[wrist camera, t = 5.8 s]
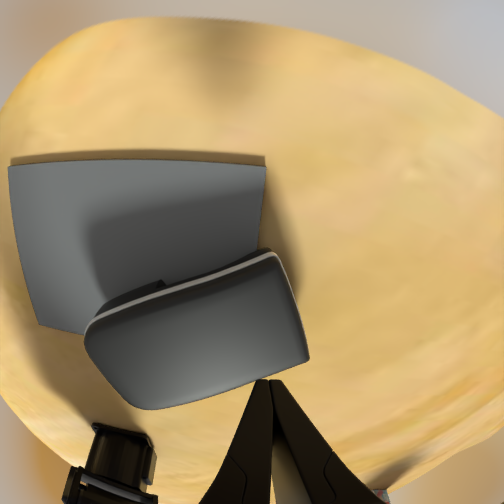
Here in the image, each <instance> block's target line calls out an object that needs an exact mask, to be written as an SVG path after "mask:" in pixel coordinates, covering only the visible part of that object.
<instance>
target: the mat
mask: <svg viewBox="0 0 504 504" xmlns="http://www.w3.org/2000/svg"><path fill="white" fill-rule="evenodd" d="M265 176H266V166H257V165H246V164H235V163H222V162H207V161H189V160H161V159H101V160H74V161H57V162H44V163H32V164H22V165H13V166H9V167H8V180H9V192H10V202H11V210H12V217H13V224H14V230H15V236H16V241H17V247H18V252H19V256H20V261H21V265H22V269H23V273H24V277H25V281H26V285H27V288H28V292H29V295H30V299H31V302H32V305H33V308H34V311H35V314H36V317H37V320H38V323H39V325H43V326H46V327H50V328H54V329H59V330H63V331H67V332H71V333H76V334H80V335H85V330H86V328H87V326H88V324H89V322H90V321H91V320H92V319H93V318H94V316H95V315H96V313H97V312H98V310H99V309H100V308H101V307H102V305H103V304H105V303H106V302H108V301H109V300H111V299H113V298H115V297H118V296H120V295H122V294H124V293H127V292H129V291H131V290H134V289H136V288H139V287H141V286H144V285H146V284H149V283H152V282H155V281H157V280H163V281H164V283H165V284H166V285H169V284H172V283H175V282H178V281H181V280H184V279H187V278H191V277H194V276H197V275H200V274H204V273H207V272H210V271H212V270H215V269H218V268H220V267H223V266H225V265H227V264H230V263H232V262H234V261H236V260H238V259H240V258H242V257H244V256H246V255H248V254H249V253H252V252H255V251H257V243H258V235H259V227H260V218H261V210H262V201H263V193H264V184H265Z"/></svg>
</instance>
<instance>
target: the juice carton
mask: <svg viewBox="0 0 504 504" xmlns="http://www.w3.org/2000/svg"><path fill="white" fill-rule="evenodd" d="M371 491H372V492H373V493H374V494H376V495H377V496H378V497H379V498H380V499H381V500H383V501H384V502H386V503H387V504H390V501H389V497H388V493H387V490H371Z"/></svg>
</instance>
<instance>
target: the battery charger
mask: <svg viewBox="0 0 504 504" xmlns="http://www.w3.org/2000/svg"><path fill="white" fill-rule="evenodd" d="M84 336H85V338H84V345H85V349H86V351H87V353H88V355H89V357H90V358H91V360H92V361H93V362H94V364H95V365H96V367H97V368H98V369H99V371H100V372H101V373H102V374H103V376H104V377H105V378H106V380H107V381H108V382H109V383H110V384H111V385H112V387H113V388H114V389H115V390H116V391H117V392H118V393H119V394H120V395H121V396H122V398H123V399H124V400H126V401H127V402H128V403H129V404H131V405H132V406H134V407H136V408H140V409H143V410H159V409H165V408H170V407H174V406H179V405H183V404H187V403H191V402H195V401H198V400H202V399H205V398H209V397H212V396H215V395H218V394H221V393H224V392H227V391H230V390H233V389H235V388H238V387H241V386H244V385H246V384H249V383H251V382H254V381H256V380H257V379H262V378H265V377H267V376H270V375H273V374H276V373H279V372H281V371H284V370H286V369H289V368H292V367H295V366H297V365H300V364H303V363H306V362H307V361H309V359H310V356H309V350H308V344H307V339H306V334H305V331H304V327H303V323H302V320H301V316H300V313H299V309H298V306H297V303H296V300H295V297H294V294H293V291H292V288H291V285H290V282H289V280H288V277H287V275H286V272H285V270H284V267H283V265H282V263H281V260H280V259H279V257H278V256H277V254H276V253H274V252H272V250H271V249H270V248H263V249H260V250H257V251H255V252H252V253H249V254H248V255H246V256H244V257H242V258H240V259H238V260H236V261H234V262H232V263H230V264H227V265H225V266H223V267H220V268H218V269H215V270H212V271H210V272H207V273H204V274H200V275H197V276H194V277H191V278H187V279H184V280H181V281H178V282H175V283H172V284H169V285H166V284H165V283H164V281H163V280H157V281H155V282H152V283H149V284H146V285H144V286H141V287H139V288H136V289H134V290H131V291H129V292H127V293H124V294H122V295H120V296H118V297H115V298H113V299H111V300H109V301H108V302H106V303H105V304H103V305H102V307H101V308H100V309H99V310H98V312H97V313H96V315H95V316H94V318H93V319H92V320H91V321H90V322H89V324H88V326H87V328H86V330H85V335H84Z"/></svg>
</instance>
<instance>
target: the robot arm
mask: <svg viewBox="0 0 504 504" xmlns="http://www.w3.org/2000/svg"><path fill="white" fill-rule="evenodd" d="M91 427H92V429H93V430H94V432H95V437H94V440H93V443H92V446H91V449H90V452H89V455H88V459H87V462H86V465H85V469H84V468H83V467H81V466H79V467H78V468H77V467H73V466H71V468H70V472H69V475H68V478H67V481H66V485H65V489H64V492H63V496H62V501H63V503H64V504H158V495H154V494H148V493H146V489H147V485H152V484H153V478H154V472H155V466H156V460H157V456H156V453H155V451H154V449H153V448H152V447H151V444H150V442H149V439H148V437H147V436H146V435H143V434H139V433H134V432H129V431H125V430H120V429H116V428H112V427H108V426H104V425H100V424H97V423H92V425H91ZM332 451H333V450H332V448H331V447H330V446H329V444H328V443H327V442H326V440H325V439H324V438H323V436H322V435H321V434H320V433H319V431H318V430H317V429H316V427H315V426H314V425H313V423H312V422H311V421H310V419H309V418H308V417H307V415H306V414H305V412H304V411H303V410H302V408H301V407H300V406H299V404H298V403H297V402H296V400H295V399H294V397H293V396H292V395H291V393H290V392H289V391H288V389H287V388H286V386H285V385H284V384H283V382H282V381H281V380H269V381H268V380H267V379H257V380H256V382H255V384H254V387H253V390H252V392H251V395H250V397H249V400H248V403H247V405H246V408H245V410H244V413H243V415H242V418H241V420H240V423H239V425H238V428H237V430H236V433H235V435H234V438H233V440H232V442H231V445H230V447H229V450H228V452H227V455H226V456H225V459H224V461H223V464H222V466H221V468H220V470H219V472H218V474H217V476H216V478H215V479H214V481H213V483H212V484H211V486H210V487H209V489H208V491H207V492H206V493H205V495H204V496H203V498H202V499H201V501H200V502H199V504H270V487H271V475H272V481H273V487H274V493H275V499H276V504H387V503H386V502H384V501H383V500H381V499H380V498H379V497H378V496H377V495H376V494H374V493H373V492H372V491H371V490H370V489H369V488H368V487H367V486H366V485H365V484H363V483H362V482H361V481H360V480H359V479H358V478H357V477H356V476H355V475H354V474H353V473H352V472H351V471H350V470H349V469H348V468H347V467H346V465H345V464H344V463H343V462H342V461H341V460H340V458H339V457H338V456H337V454H336V453H335V452H334V451H333V452H332ZM80 481H82V482H84V483H86V486H85V485H83V484H80ZM501 504H504V502H503V503H501Z"/></svg>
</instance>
